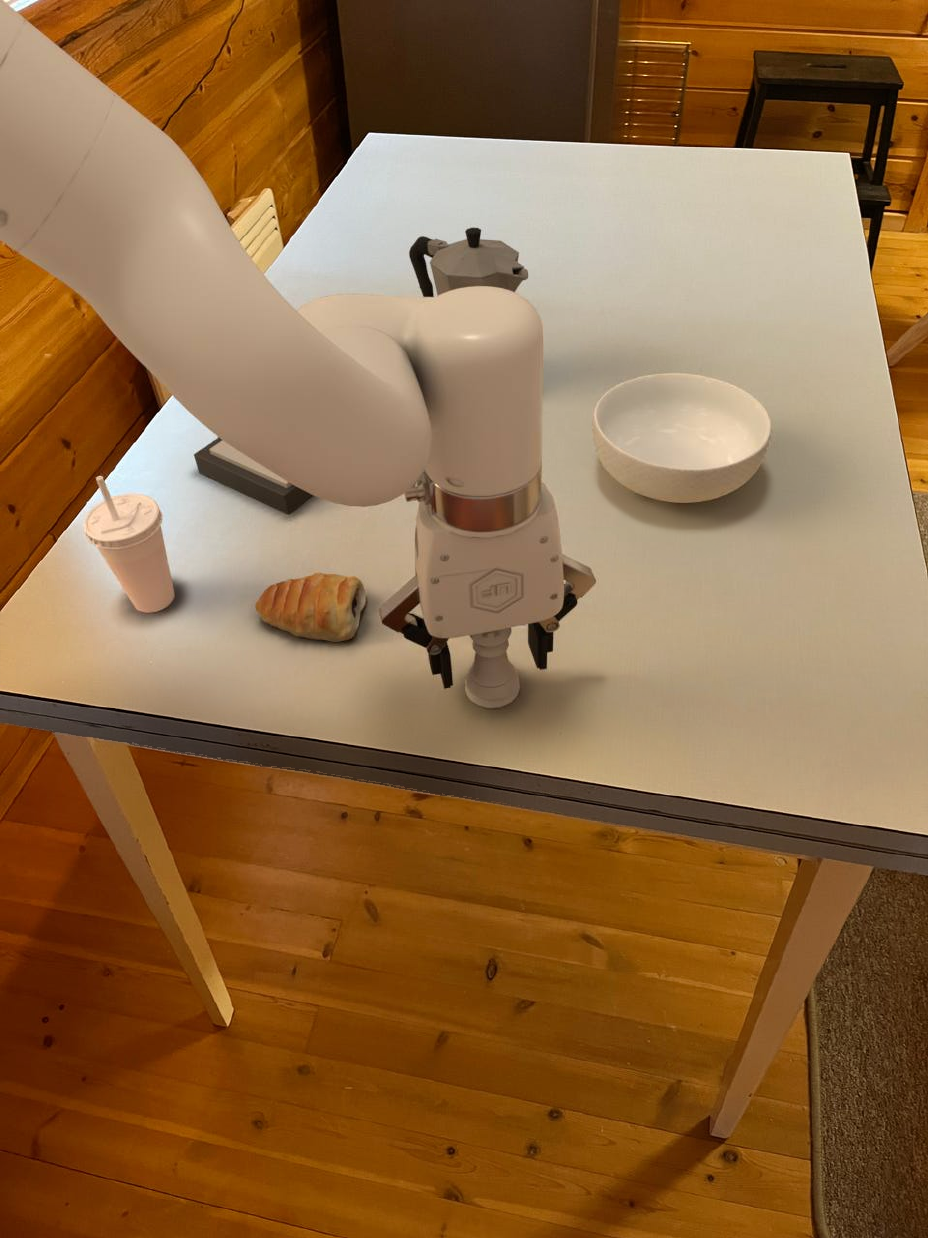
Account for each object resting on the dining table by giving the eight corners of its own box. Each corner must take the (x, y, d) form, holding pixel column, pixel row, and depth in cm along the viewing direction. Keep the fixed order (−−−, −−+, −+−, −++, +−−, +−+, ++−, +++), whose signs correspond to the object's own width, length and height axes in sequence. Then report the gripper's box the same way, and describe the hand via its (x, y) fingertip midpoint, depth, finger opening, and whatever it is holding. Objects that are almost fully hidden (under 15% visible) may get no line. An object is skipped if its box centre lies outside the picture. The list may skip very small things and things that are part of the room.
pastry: (250, 641, 80) (241, 609, 78) (270, 587, 85) (262, 556, 82) (356, 646, 79) (350, 614, 77) (371, 591, 84) (365, 560, 81)
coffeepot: (550, 381, 107) (552, 225, 94) (502, 420, 102) (498, 260, 89) (445, 345, 114) (434, 195, 101) (396, 380, 109) (378, 226, 96)
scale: (199, 473, 98) (191, 449, 96) (283, 414, 105) (278, 390, 103) (288, 514, 92) (283, 490, 90) (371, 449, 99) (368, 425, 97)
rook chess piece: (522, 671, 76) (521, 602, 71) (517, 713, 73) (516, 645, 68) (468, 667, 77) (463, 599, 71) (461, 709, 74) (455, 641, 68)
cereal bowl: (795, 496, 90) (811, 436, 85) (650, 551, 86) (658, 490, 81) (692, 412, 101) (701, 353, 96) (559, 456, 97) (561, 397, 92)
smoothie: (103, 610, 84) (46, 486, 74) (150, 566, 88) (102, 443, 78) (157, 632, 82) (106, 507, 72) (203, 586, 85) (161, 462, 75)
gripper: (359, 544, 57) (390, 724, 69) (630, 496, 59) (612, 679, 71) (344, 473, 62) (375, 652, 75) (594, 430, 64) (583, 612, 77)
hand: (491, 664), depth 73 cm, fingers open, 6 cm apart
